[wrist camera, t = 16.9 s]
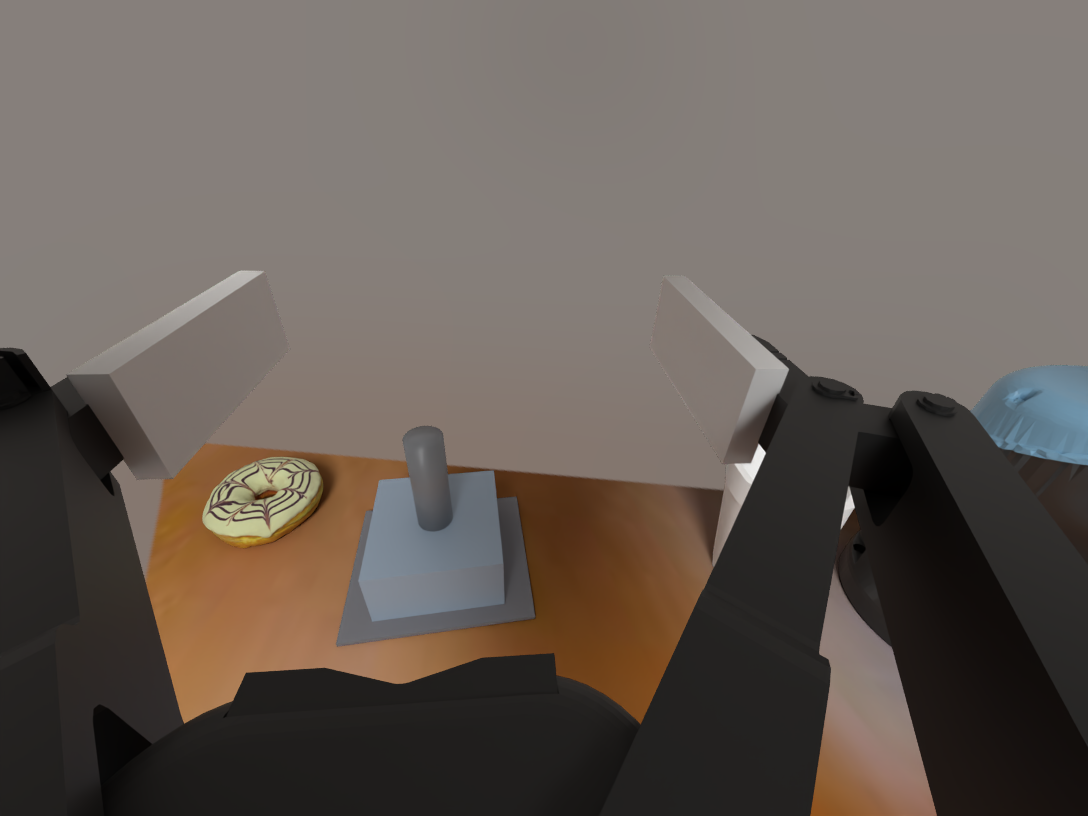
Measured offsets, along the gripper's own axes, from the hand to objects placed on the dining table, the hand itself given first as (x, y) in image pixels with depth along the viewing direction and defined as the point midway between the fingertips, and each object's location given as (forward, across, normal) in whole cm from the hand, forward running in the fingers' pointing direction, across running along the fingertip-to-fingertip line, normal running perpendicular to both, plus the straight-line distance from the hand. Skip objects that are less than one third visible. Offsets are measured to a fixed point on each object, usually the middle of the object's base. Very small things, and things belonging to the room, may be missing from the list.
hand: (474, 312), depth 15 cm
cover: (+12, -5, -30) cm, 33 cm away
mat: (+12, -5, -30) cm, 33 cm away
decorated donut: (+20, -24, -30) cm, 44 cm away
